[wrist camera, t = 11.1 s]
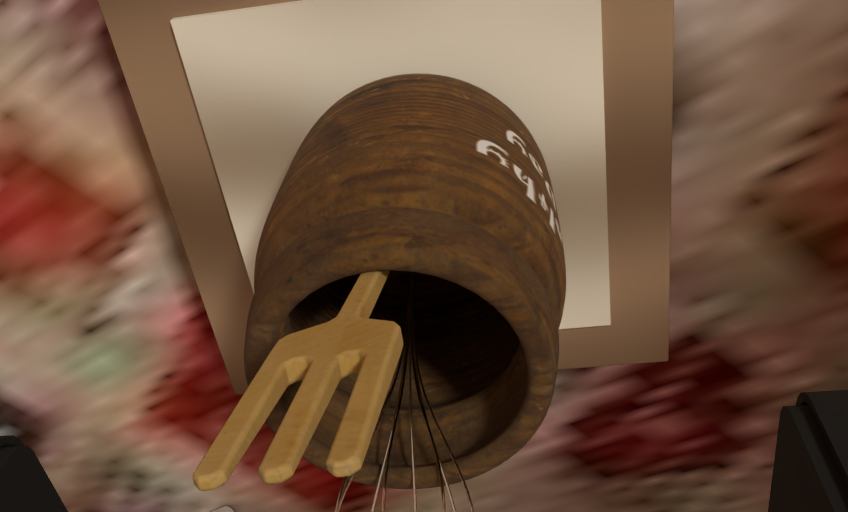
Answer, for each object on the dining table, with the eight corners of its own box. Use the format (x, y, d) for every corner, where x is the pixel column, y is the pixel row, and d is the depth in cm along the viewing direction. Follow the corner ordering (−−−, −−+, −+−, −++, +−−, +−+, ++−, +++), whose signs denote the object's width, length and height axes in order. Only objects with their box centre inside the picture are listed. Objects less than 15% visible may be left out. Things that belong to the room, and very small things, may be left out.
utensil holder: (332, 307, 21) (193, 837, 10) (260, 74, 17) (-41, 505, 7) (562, 276, 20) (658, 822, 10) (530, 25, 17) (623, 437, 6)
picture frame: (134, -70, 19) (77, -43, 16) (647, -149, 18) (678, -134, 15) (259, 331, 25) (233, 399, 22) (647, 297, 24) (669, 365, 21)
